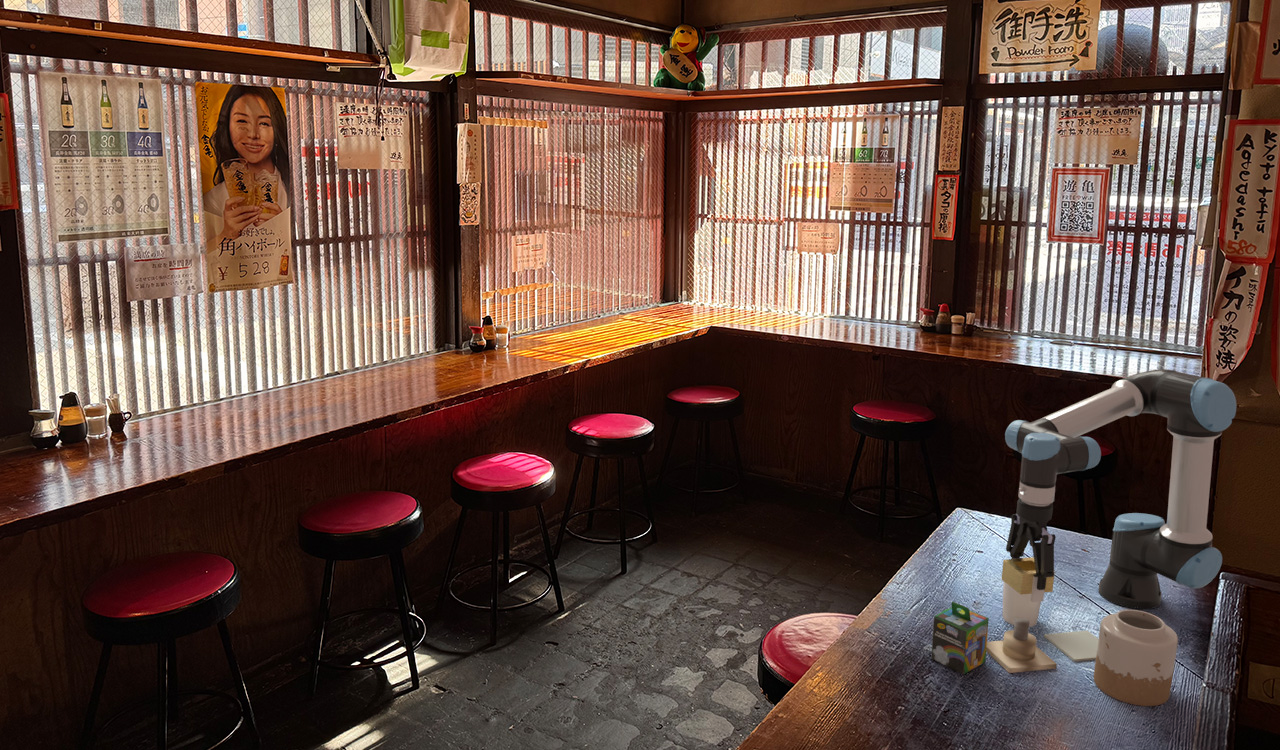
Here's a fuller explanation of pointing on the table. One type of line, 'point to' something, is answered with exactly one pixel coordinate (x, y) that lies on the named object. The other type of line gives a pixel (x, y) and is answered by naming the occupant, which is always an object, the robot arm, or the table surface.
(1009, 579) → the square wooden frame
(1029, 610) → the candle holder
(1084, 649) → the felt mat
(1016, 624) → the stand
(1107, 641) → the vase
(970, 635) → the chalk box
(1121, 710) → the table surface
